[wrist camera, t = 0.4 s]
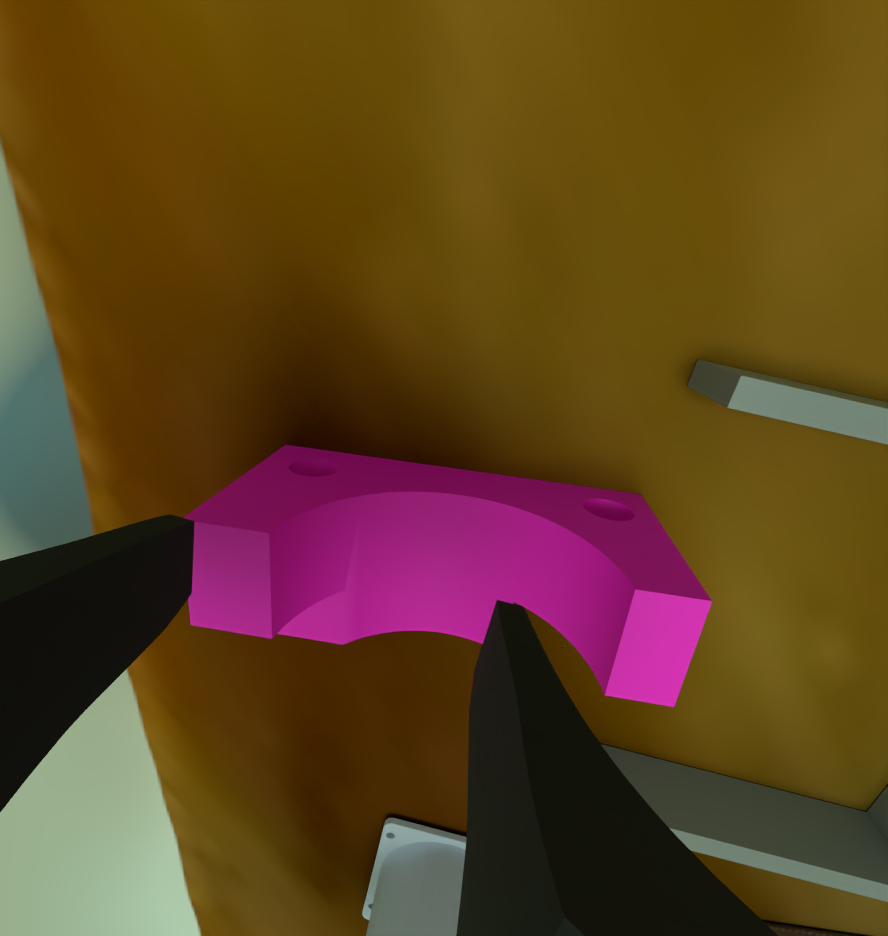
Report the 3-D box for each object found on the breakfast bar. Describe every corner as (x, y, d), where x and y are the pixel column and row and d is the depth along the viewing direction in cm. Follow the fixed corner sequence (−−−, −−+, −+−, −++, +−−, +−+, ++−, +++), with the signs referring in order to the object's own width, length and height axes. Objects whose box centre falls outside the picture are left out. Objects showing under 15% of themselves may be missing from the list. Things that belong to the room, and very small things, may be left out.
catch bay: (876, 830, 24) (933, 913, 21) (544, 744, 25) (550, 813, 22) (1174, 467, 17) (1332, 510, 14) (697, 359, 18) (741, 375, 14)
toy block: (289, 566, 23) (196, 685, 16) (287, 443, 21) (180, 519, 14) (605, 616, 22) (652, 767, 15) (639, 492, 20) (711, 601, 13)
